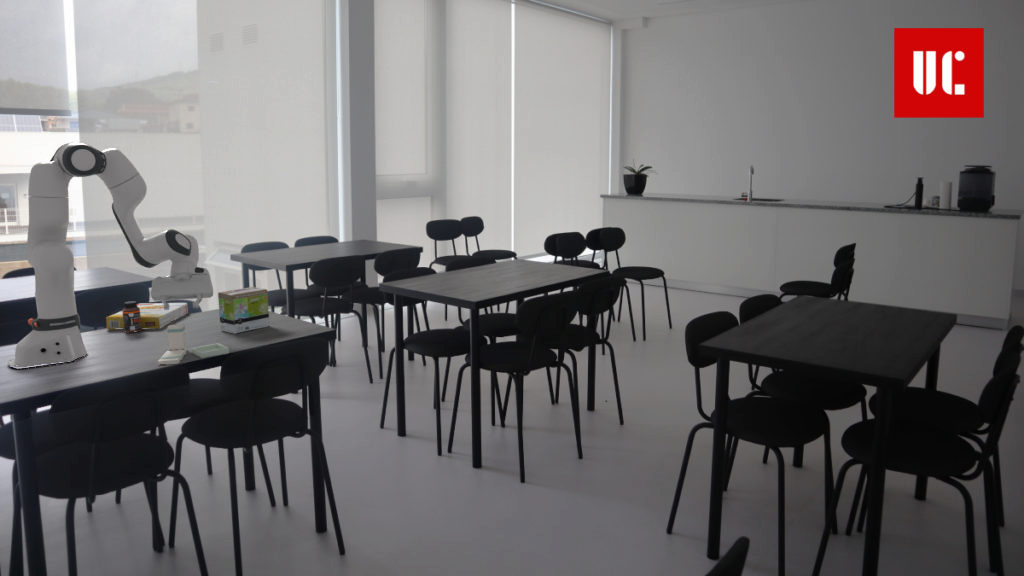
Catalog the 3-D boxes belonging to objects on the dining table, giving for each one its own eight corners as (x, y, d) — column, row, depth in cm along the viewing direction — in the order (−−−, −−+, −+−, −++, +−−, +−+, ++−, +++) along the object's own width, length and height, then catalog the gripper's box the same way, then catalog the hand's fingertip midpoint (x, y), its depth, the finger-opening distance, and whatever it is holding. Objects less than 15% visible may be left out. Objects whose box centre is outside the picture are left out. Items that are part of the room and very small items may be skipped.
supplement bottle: (137, 333, 287) (133, 303, 285) (121, 333, 287) (117, 303, 285) (145, 329, 293) (141, 300, 291) (129, 329, 293) (126, 300, 291)
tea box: (235, 334, 282) (232, 294, 280) (220, 331, 288) (216, 292, 286) (270, 326, 294) (267, 288, 291) (254, 323, 300) (251, 285, 297)
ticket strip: (157, 365, 244) (157, 360, 244) (167, 354, 257) (167, 350, 257) (178, 363, 245) (177, 359, 245) (186, 352, 258) (186, 348, 258)
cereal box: (105, 316, 292) (138, 301, 320) (106, 331, 293) (139, 314, 321) (159, 316, 293) (187, 301, 320) (160, 330, 294) (188, 314, 321)
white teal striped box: (169, 353, 257) (167, 327, 256) (172, 350, 261) (169, 324, 260) (184, 352, 258) (181, 326, 257) (187, 349, 262) (184, 324, 261)
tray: (201, 358, 251) (201, 353, 250) (191, 353, 257) (191, 348, 257) (229, 353, 257) (228, 347, 256) (218, 348, 263) (218, 343, 263)
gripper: (150, 272, 270) (146, 304, 262) (211, 268, 274) (209, 301, 266) (154, 282, 275) (150, 315, 268) (215, 279, 279) (213, 311, 272)
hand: (180, 308), depth 267 cm, fingers open, 8 cm apart
